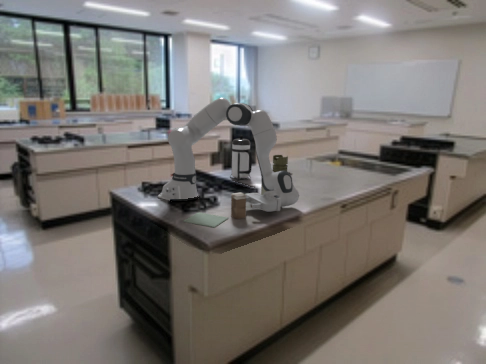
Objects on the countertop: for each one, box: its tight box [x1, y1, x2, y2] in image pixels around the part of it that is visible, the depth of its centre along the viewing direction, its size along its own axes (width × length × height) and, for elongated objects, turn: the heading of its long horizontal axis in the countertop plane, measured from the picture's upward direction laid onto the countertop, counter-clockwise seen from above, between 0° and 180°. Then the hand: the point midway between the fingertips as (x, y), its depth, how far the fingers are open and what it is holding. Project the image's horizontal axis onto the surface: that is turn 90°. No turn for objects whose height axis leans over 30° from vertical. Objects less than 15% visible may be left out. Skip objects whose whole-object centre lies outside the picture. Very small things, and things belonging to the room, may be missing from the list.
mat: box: [183, 212, 229, 228], centre depth 156 cm, size 16×13×1 cm
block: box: [230, 192, 247, 220], centre depth 160 cm, size 5×5×11 cm
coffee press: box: [229, 134, 253, 182], centre depth 233 cm, size 17×16×30 cm
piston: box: [272, 154, 289, 173], centre depth 262 cm, size 11×12×11 cm
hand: (246, 203), depth 162 cm, fingers open, 8 cm apart
